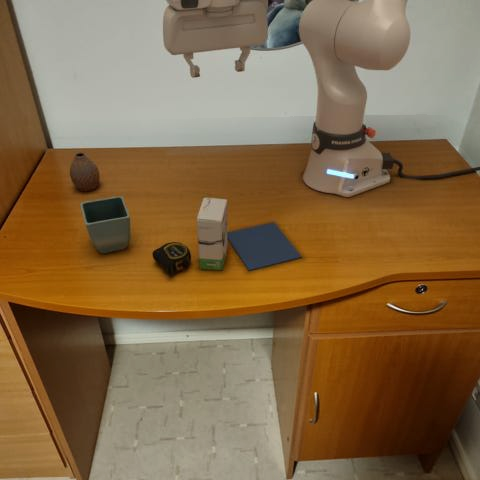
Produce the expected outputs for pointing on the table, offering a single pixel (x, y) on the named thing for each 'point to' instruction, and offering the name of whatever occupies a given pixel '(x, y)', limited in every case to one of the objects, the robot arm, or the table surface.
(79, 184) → the vase
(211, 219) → the ink box
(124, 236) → the flower pot
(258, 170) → the table surface
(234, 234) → the cloth
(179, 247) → the tape measure
